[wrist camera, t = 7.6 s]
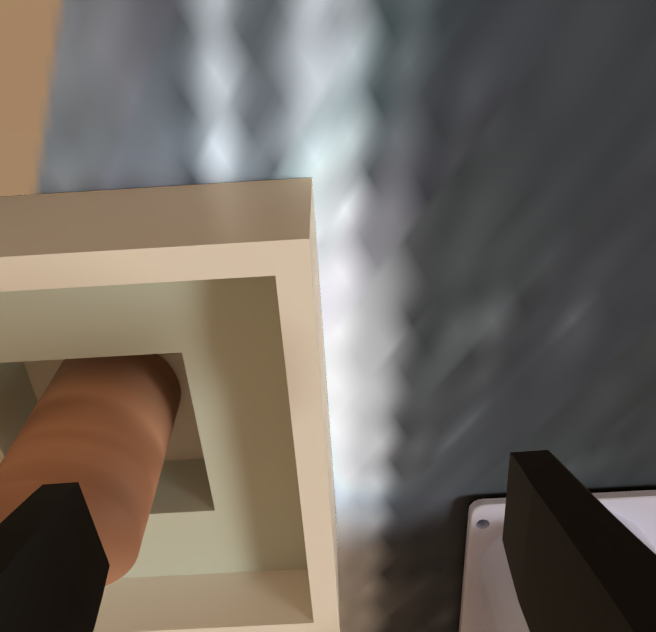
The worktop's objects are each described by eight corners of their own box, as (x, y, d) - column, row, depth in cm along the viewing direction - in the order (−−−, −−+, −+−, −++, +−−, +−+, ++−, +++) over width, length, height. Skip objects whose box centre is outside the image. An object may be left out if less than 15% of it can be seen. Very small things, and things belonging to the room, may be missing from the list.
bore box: (336, 516, 23) (340, 637, 18) (-2, 534, 23) (-77, 657, 19) (311, 177, 16) (309, 238, 12) (-155, 206, 17) (-325, 276, 12)
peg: (182, 437, 20) (143, 593, 15) (65, 432, 20) (-16, 590, 15) (179, 343, 18) (134, 484, 13) (49, 335, 18) (-50, 477, 13)
